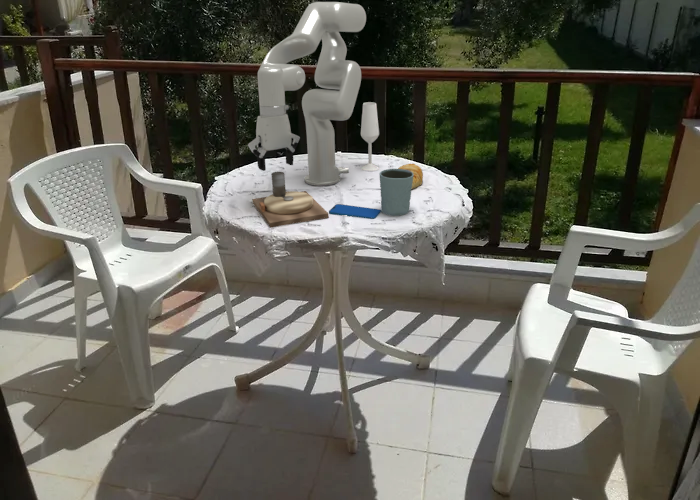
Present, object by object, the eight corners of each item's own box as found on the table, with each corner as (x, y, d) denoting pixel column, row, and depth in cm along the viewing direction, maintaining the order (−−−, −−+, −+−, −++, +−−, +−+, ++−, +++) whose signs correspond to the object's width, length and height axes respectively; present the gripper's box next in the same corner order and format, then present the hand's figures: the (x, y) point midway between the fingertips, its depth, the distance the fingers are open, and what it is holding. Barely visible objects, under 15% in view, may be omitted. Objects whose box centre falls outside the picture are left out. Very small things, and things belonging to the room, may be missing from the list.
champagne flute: (360, 166, 224) (359, 102, 214) (377, 165, 225) (377, 101, 215) (362, 171, 218) (361, 105, 208) (380, 170, 219) (380, 105, 209)
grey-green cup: (373, 208, 184) (373, 171, 179) (400, 202, 188) (401, 166, 183) (391, 219, 176) (391, 180, 171) (419, 212, 180) (420, 174, 175)
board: (306, 195, 196) (305, 185, 195) (328, 217, 178) (328, 207, 176) (252, 203, 190) (251, 193, 189) (270, 227, 172) (269, 216, 170)
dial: (322, 206, 182) (321, 178, 178) (280, 217, 174) (278, 189, 170) (296, 193, 193) (295, 167, 189) (255, 203, 185) (253, 176, 181)
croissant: (411, 203, 197) (423, 184, 193) (385, 188, 197) (396, 169, 193) (420, 182, 215) (431, 164, 211) (396, 168, 215) (407, 150, 211)
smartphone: (374, 218, 176) (327, 212, 180) (374, 221, 176) (327, 214, 181) (381, 209, 182) (336, 203, 187) (381, 212, 182) (336, 206, 187)
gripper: (291, 105, 182) (293, 160, 189) (240, 112, 173) (245, 169, 180) (304, 109, 177) (306, 165, 184) (252, 116, 168) (257, 174, 174)
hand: (276, 167), depth 182 cm, fingers open, 9 cm apart
